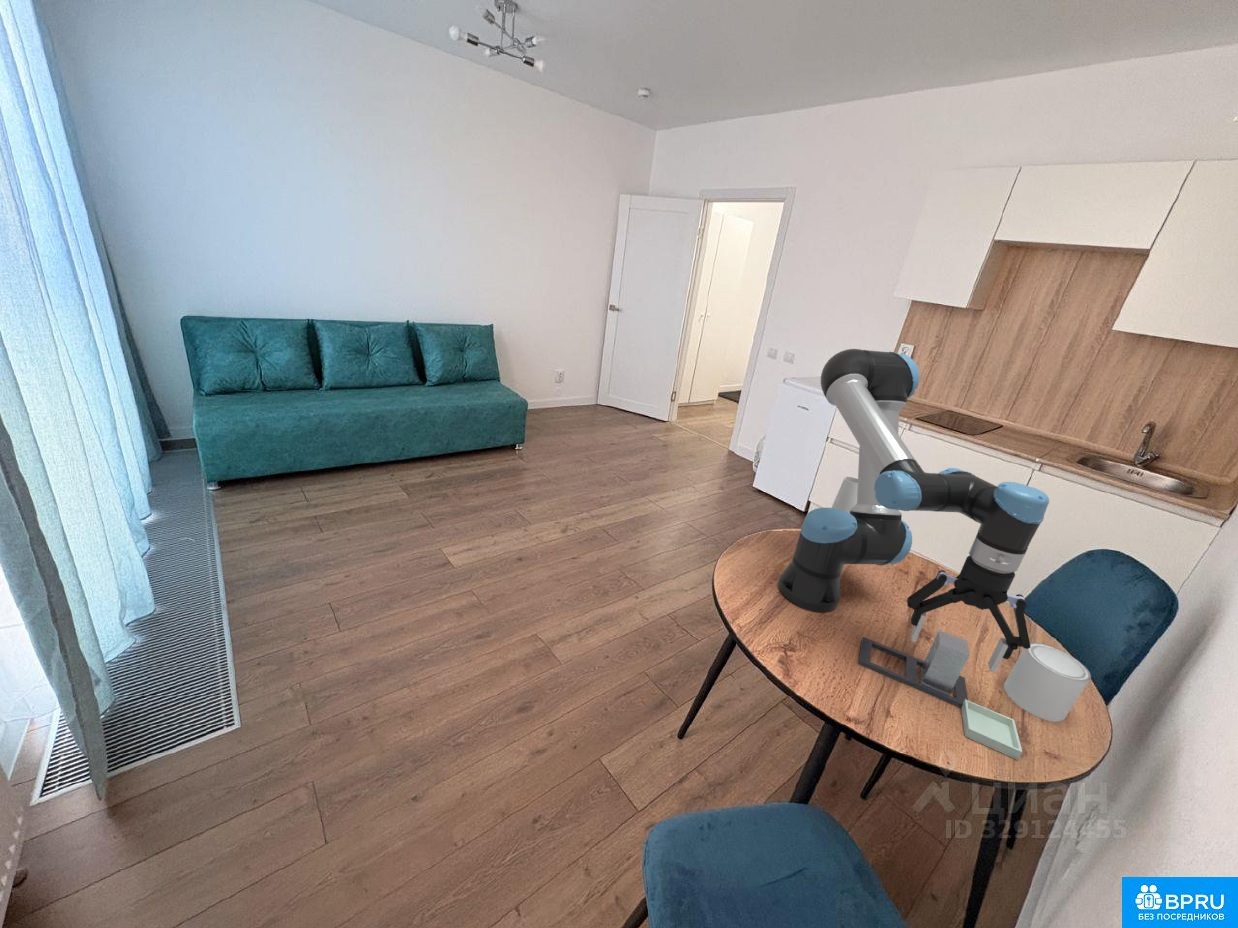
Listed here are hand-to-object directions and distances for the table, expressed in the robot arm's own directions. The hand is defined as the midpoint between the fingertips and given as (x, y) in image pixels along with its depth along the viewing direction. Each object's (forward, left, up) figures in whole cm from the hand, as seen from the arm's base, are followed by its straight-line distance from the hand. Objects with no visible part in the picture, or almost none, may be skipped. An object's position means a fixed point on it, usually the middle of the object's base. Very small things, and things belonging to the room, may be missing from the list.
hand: (951, 652), depth 95 cm
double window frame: (-5, 0, -9) cm, 10 cm away
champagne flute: (-27, +44, -9) cm, 53 cm away
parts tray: (+8, -8, -9) cm, 14 cm away
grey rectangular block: (0, 0, -9) cm, 9 cm away
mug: (+18, +9, -9) cm, 22 cm away
